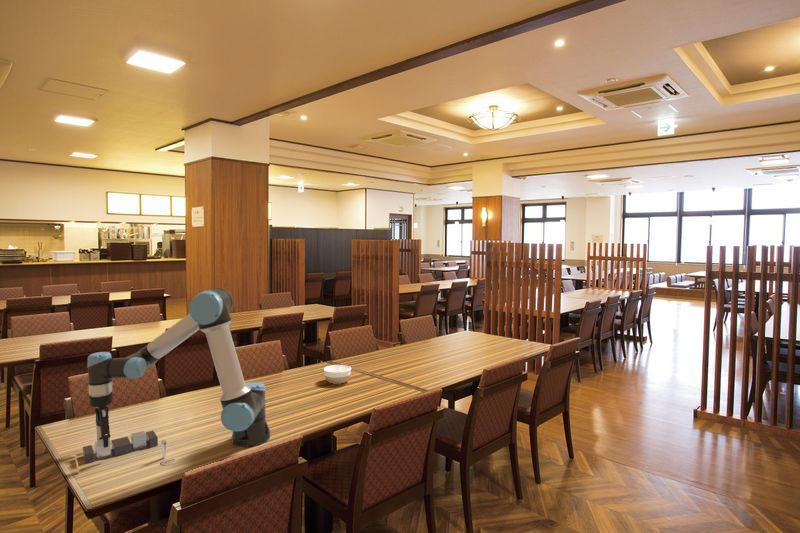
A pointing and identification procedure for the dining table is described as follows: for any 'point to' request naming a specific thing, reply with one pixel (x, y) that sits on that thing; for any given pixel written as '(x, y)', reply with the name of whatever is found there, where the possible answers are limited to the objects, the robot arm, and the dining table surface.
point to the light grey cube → (138, 440)
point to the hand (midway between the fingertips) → (103, 448)
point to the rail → (120, 447)
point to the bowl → (337, 373)
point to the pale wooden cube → (99, 450)
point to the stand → (165, 454)
